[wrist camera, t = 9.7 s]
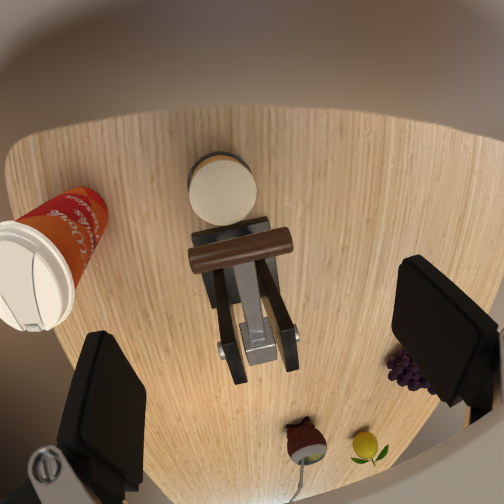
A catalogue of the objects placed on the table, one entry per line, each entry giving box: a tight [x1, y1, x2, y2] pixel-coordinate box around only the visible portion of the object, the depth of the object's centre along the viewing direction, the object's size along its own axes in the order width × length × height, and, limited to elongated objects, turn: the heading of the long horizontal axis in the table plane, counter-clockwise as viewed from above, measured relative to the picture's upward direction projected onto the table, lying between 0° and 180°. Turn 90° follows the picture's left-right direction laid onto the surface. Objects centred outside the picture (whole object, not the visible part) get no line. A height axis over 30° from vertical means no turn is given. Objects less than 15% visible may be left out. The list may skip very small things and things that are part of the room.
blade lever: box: [188, 227, 293, 366], centre depth 19 cm, size 12×5×2 cm, turn 10°
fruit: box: [387, 350, 436, 395], centre depth 44 cm, size 10×11×15 cm
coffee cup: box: [0, 187, 108, 332], centre depth 22 cm, size 8×8×15 cm
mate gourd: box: [285, 417, 327, 502], centre depth 45 cm, size 8×8×15 cm
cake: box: [188, 152, 257, 226], centre depth 28 cm, size 6×6×4 cm
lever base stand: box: [192, 217, 300, 385], centre depth 27 cm, size 9×8×15 cm
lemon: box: [351, 432, 389, 466], centre depth 53 cm, size 7×6×10 cm
